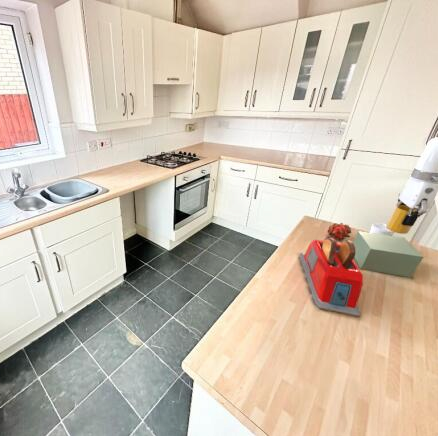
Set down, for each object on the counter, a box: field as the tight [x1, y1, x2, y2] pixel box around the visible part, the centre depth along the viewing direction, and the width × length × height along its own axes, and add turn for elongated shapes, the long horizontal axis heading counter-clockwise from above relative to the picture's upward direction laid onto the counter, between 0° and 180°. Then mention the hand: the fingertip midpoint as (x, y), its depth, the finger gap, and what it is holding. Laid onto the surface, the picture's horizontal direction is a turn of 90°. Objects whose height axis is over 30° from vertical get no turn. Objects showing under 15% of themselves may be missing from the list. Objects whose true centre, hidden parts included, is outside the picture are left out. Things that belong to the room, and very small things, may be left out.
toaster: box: [299, 237, 364, 318], centre depth 89 cm, size 32×13×19 cm, turn 161°
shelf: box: [352, 230, 425, 278], centre depth 100 cm, size 16×14×10 cm
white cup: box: [368, 222, 395, 236], centre depth 111 cm, size 8×8×10 cm
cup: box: [386, 205, 417, 235], centre depth 92 cm, size 6×6×9 cm
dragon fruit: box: [327, 222, 352, 241], centre depth 118 cm, size 8×8×12 cm
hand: (401, 220), depth 92 cm, fingers closed on cup, 6 cm apart
